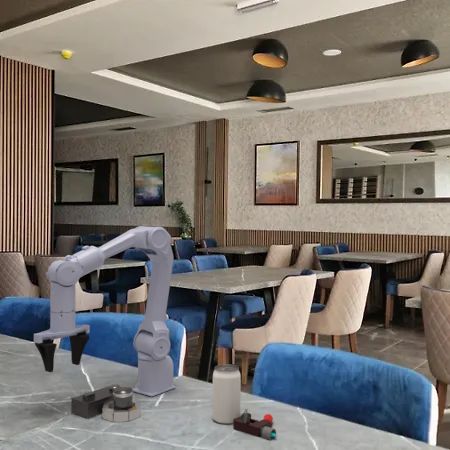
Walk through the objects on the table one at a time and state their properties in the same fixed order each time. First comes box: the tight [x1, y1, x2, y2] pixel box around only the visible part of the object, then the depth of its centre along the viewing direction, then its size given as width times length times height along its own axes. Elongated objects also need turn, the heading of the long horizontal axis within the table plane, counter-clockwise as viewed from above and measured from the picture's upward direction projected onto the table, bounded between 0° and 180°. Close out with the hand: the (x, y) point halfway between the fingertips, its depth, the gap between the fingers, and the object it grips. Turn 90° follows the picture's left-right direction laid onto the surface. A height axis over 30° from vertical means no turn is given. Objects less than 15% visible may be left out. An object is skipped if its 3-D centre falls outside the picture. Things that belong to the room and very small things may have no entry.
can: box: [211, 363, 242, 425], centre depth 125 cm, size 6×6×12 cm
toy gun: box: [232, 408, 278, 441], centre depth 120 cm, size 10×12×5 cm
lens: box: [113, 386, 134, 410], centre depth 127 cm, size 5×5×6 cm
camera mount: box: [70, 384, 141, 423], centre depth 129 cm, size 13×15×4 cm
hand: (62, 367), depth 129 cm, fingers open, 7 cm apart
